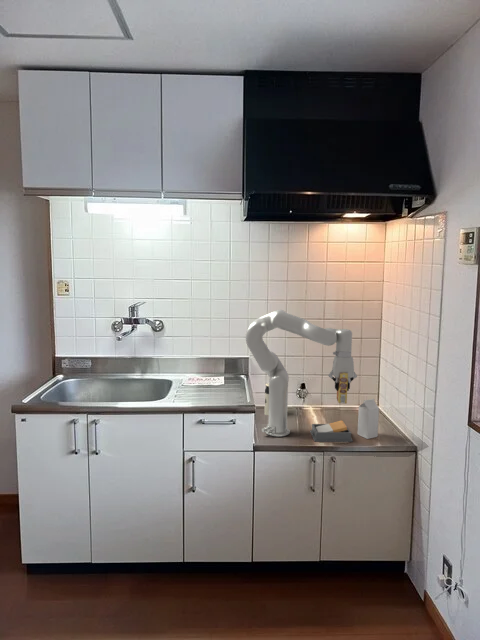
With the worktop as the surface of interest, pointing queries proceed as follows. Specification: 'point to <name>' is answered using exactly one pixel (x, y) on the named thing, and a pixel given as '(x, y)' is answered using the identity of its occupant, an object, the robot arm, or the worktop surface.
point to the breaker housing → (330, 435)
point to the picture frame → (332, 427)
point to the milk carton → (368, 419)
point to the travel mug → (267, 400)
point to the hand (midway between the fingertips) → (342, 389)
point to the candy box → (342, 388)
